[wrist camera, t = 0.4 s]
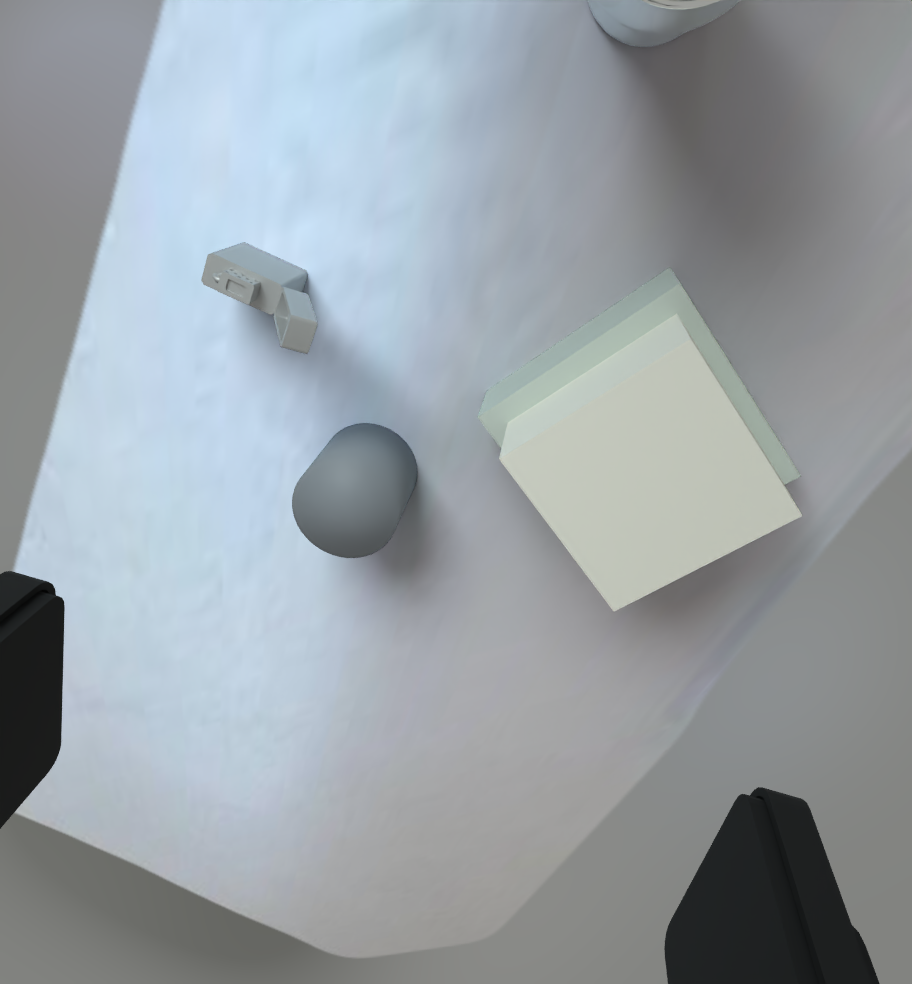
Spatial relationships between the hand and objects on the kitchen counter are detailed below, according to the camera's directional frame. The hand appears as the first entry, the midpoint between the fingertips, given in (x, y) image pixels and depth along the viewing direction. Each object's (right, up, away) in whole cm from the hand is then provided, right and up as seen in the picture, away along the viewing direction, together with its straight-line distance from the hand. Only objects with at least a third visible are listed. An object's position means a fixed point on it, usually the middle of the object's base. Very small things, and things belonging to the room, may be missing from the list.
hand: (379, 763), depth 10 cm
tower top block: (+11, +6, +30) cm, 32 cm away
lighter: (-8, +16, +34) cm, 38 cm away
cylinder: (-4, +5, +38) cm, 38 cm away
